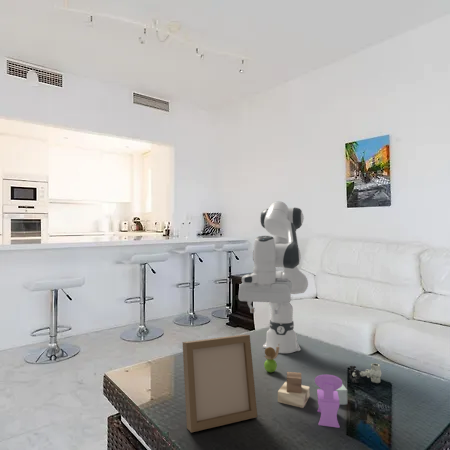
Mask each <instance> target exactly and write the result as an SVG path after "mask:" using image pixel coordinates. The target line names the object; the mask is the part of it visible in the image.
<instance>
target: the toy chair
mask: <svg viewBox="0 0 450 450" xmlns="http://www.w3.org/2000/svg"><path fill="white" fill-rule="evenodd" d="M314 384H315V385H316V387H319V388H317V391H316V394H317V404H318V408H317V412H318V413H320V418H319V421H318V426H324V427H331V428H338V429H339V428H340V424H339V420H338V412H339V409H340V404H339V397H338V392H337V391H335V390H337V389H339V388H340V387H341V386H342V384H343V380H342V378H341V377H339V376H337V375H334V374H326V373H325V374H319V375H317V376H316V377H315V378H314Z"/></svg>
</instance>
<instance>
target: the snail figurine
mask: <svg viewBox="0 0 450 450" xmlns="http://www.w3.org/2000/svg"><path fill="white" fill-rule="evenodd" d="M278 345H279V344H278ZM278 352H279V347H276V352H275V350H274V349H273V348H272V347H267V348H264V358H265V359H266V360H265V361H264V363H263V368H264V369H265V370H266V372H267V373H273V372H275V371H277V368H278V363H277V361H276V360H275V359H277V357H278V355H279V353H278Z"/></svg>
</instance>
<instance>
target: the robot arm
mask: <svg viewBox="0 0 450 450" xmlns="http://www.w3.org/2000/svg"><path fill="white" fill-rule="evenodd" d="M304 219H305V217H304V214H303V209H301V208H299V207H288V205H287V204H286V203H285V202H283V201H280V200H278V201H274V202H272V203H271V204H270V206H269V207H268V208H265V209H263V210H262V211H261V212H260V216H259V222H260V225H261V227H262V228H264V229H265V230H266V231H267V233H268V234H270V235H272V236H270V235H261V236H260V235H259V236H257V237H256V238H255V239H254V244H253V250H252V261H253V263H254V264H253V267H252V268H253V271H252V273H251V272H250V273H247V274H245V275H243V276H242V277H241V282H242V283H240V285H239V286H238V287H239V288H238V297H237V298H238V300H239V301H240V302H247V305H248V308H249V311H250V314H254V313H255V307H253V306H252V303H253V302H255V303H256V302H257V303H269V308H270V320H269V329H268V330H267V331H266V341H265V343H264V344H263V345H262V348H264V349H266V348H267V347H272V348H273V349H274V350H275V353H276V347H279V352H278V354H292V353H294V352H300V351H301V347H300V345H299V343H298V340H297V333H296V331H295V330H294V326H295V324H294V318H293V317H294V316H293V314H294V312H293V311H294V308H293V304H292V303H291V301H292V297H291V296H292V295H299V294H304V293H305V292H306V291H307V289H308V287H309V280H308V277H307V276H306V275H305V274H304V273H303V272H302V271H300V269H299V268H298V265H300V262H301V258H302V257H301V250H300V248H299V243H298V237H297V230H299V229H300V228H301V227H302V226H303V223H304ZM277 268H283V270H282V271H277ZM278 344H279V345H278Z"/></svg>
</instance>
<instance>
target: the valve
mask: <svg viewBox="0 0 450 450" xmlns="http://www.w3.org/2000/svg"><path fill="white" fill-rule="evenodd" d="M356 368H357V366H355V365H349V369H350V370H349V369H348V374H350V375H349V379H350V380H351V381H352V383H353V384H359V382H360V381H359V379H360V378H361V377H367V378H370V381H371V382H372V383H375V384H379V383H381V377H382V370H381V364H379V363H375V362H372V363H370V369H369V368H368V369H365V370H363V371H359V370H358V369H356Z"/></svg>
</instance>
